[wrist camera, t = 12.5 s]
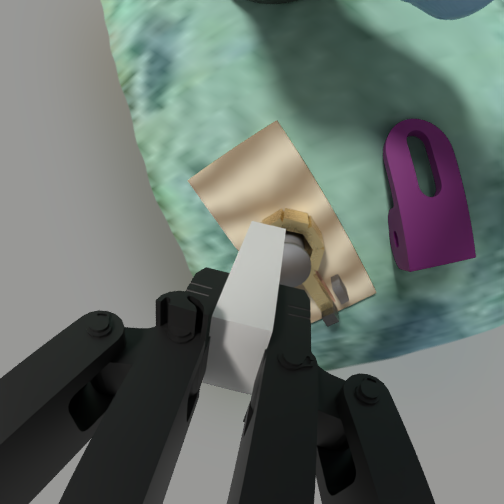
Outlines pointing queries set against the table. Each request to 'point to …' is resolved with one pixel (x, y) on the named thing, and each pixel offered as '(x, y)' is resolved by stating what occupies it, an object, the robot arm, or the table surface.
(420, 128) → the mounting bracket
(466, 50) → the table surface
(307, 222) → the collar
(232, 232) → the base
